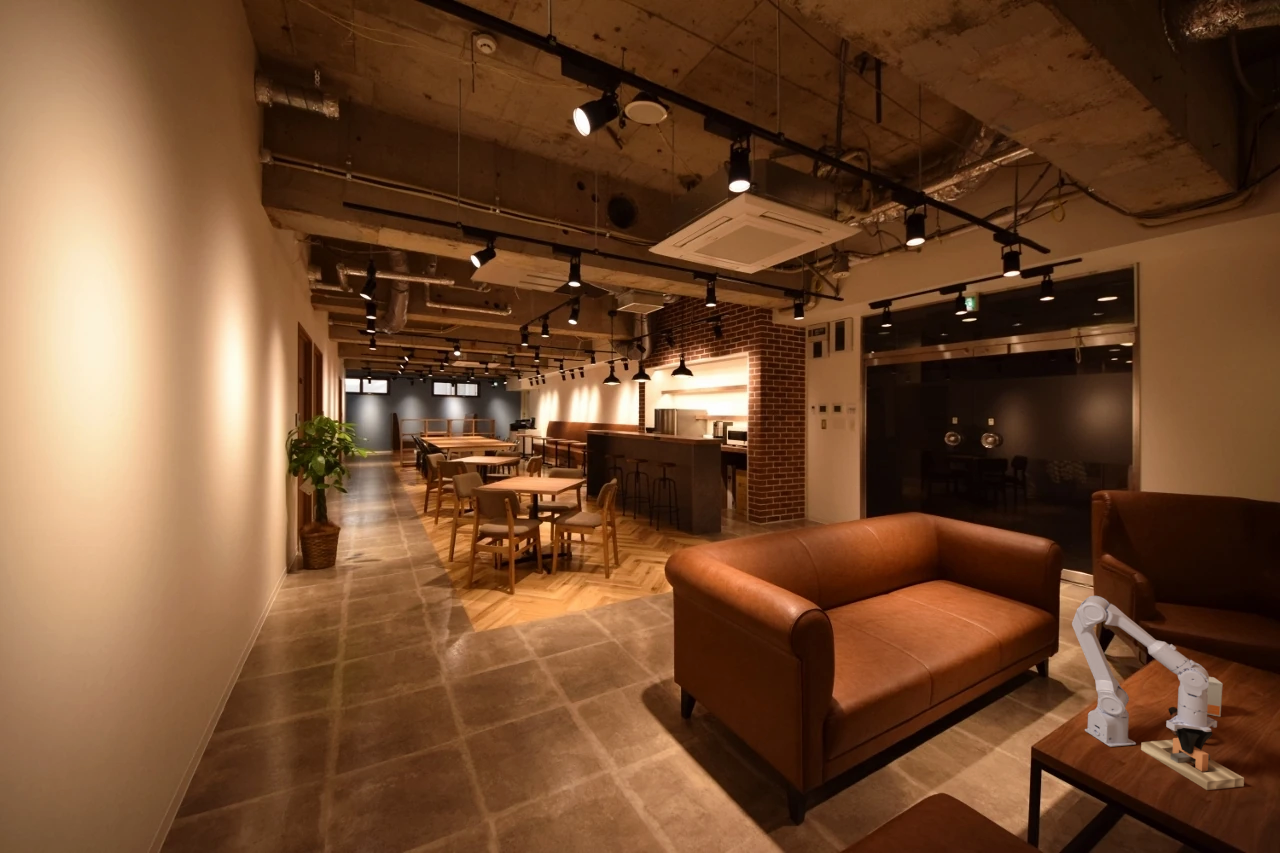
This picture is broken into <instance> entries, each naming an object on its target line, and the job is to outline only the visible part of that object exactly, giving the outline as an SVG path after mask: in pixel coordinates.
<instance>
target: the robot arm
mask: <svg viewBox="0 0 1280 853" xmlns="http://www.w3.org/2000/svg"><path fill="white" fill-rule="evenodd" d="M1104 621H1105V623H1104V625H1106V626H1113V627H1118V628H1120V629H1121V630H1123V631H1124V632H1125V633H1127V634H1128V635H1130V637H1132V638H1134V640H1136V641H1138V642H1139V643H1141V644H1142V645H1143V646H1144V647H1146V648H1147V653H1148V654H1149V655H1150V656H1151V657H1152V658H1154V659H1155V660H1156V661H1157V662H1158V663H1160V664H1161V665H1162V666H1164V667H1165V668H1167V669H1168V670H1169V671H1170V672H1172V673H1173V674H1175V675H1176V676H1177V678H1178V681H1179V686H1178V691H1177V696H1178V697H1177V709H1178V714H1177V715H1176V716H1175V717H1174V718H1172V719H1171V718H1170V719H1168V720H1166V724H1165V725H1166V728H1168V729H1170V730H1173V731H1175V732H1176V734H1177V735H1176V736H1177V738H1178V739H1179V741H1180V745H1181V748H1182V750H1184V751H1185V752H1187V753H1189V754H1192V753H1193V750H1194V746H1195V747H1197V748H1199V749H1200V750H1202V749H1203V747H1204V745H1205V744H1206V742H1207V741H1208V740H1209V739H1208V738H1209V737H1210V738H1211V737H1212V736H1213V732H1212V728H1217V727H1218V721H1217V720H1216V719H1214V718H1211V717H1209V716H1208V714H1207V706H1208V695H1207V692H1208V689H1207V688H1208V686H1209V683H1208V681H1209V677H1210V676H1209V672H1208V670H1206V669H1205V668H1204V667H1203V666H1202V665H1201V664H1199V663H1197V662H1196V661H1194V660H1192V659H1189V658H1188V657H1186V656H1185V655H1183V654H1182V653H1181V652H1179V651H1178V650H1177V646H1175V645H1173V644H1172V643H1171V644H1169V643H1168V642H1166V641H1162V640H1157V639H1155V638H1154V637H1153V636H1152V635H1151V634H1149V633H1148V632H1147V631H1146V630H1145V629H1144V628H1142V627H1141V626H1140V625H1138V624H1137V623H1136V622H1135V621H1133V620H1132V619H1131V618H1130V617H1128V616H1127V615H1126V614H1125V613H1124V612H1123V611H1122V610H1120V609H1119V608H1118V607H1117V606H1116V605H1115V604H1113V603H1110V602H1109V601H1108V600H1107V599H1106V598H1104V597H1102V596H1098V595H1090V596H1088V597H1086V598H1085V599H1084V600H1083V601H1082V602H1081V604H1080V605H1079V606H1078V607H1077V609H1076V611H1075V614H1074V617H1073V619H1072V622H1071V626H1072V628H1073V630H1074V634H1075V636H1076V639H1077V640H1078V643H1079V645H1080V648H1081V650H1082V653H1083V654H1084V657H1085V659H1086V661H1087V664H1088V667H1089V670H1090V671H1091V674H1092V676H1093V679H1094V680H1095V689H1096V693H1097V705H1096V708H1094V709H1093V710H1090V711H1089V712H1088V714H1087V728H1085V729H1084V731H1085V733H1088V734H1089V735H1091V736H1092V737H1094V738H1096V740H1099V741H1100V742H1102V743H1104V744H1105V745H1107V746H1108V747H1111V748H1112V747H1121V746H1123V747H1124V746H1133V745H1136V744H1137V743H1136V742H1135V741H1134V740H1132V739H1130V738H1129V715H1130V714H1129V712H1128V711H1127V709H1126V707H1127V704H1128V703H1129V701H1130V700H1129V695H1128V692H1126V690H1124V688H1122V686H1121V685H1120V683H1119V681H1118V679H1116V678H1115V676H1114V674H1113V671H1112V669H1111V667H1110V665H1109V661H1108V660H1107V657H1106V655H1105V653H1104V650H1103V649H1102V646H1101V644H1100V641H1099V639H1098V637H1097V635H1096V632H1095V630H1094V627H1095V626H1096V625H1097V624H1100V623H1102V622H1104ZM1211 727H1212V728H1211Z"/></svg>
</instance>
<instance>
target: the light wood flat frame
mask: <svg viewBox="0 0 1280 853" xmlns="http://www.w3.org/2000/svg"><path fill="white" fill-rule="evenodd" d="M1140 745H1141V747H1140V750H1141V751H1142V752H1144V753H1145V754H1147V755H1148V756H1150V757H1152V758H1153V759H1155V760H1157V761H1159V762H1160V763H1162V764H1164V765H1166V767H1169V768H1170V769H1172V770H1174V772H1176V773H1178V774H1180V775H1181V776H1183V777H1185V778H1186V779H1189V781H1191V782H1193V783H1195V784H1197V785H1198V786H1200V787H1202V788H1203V789H1204V790H1206V791H1210V790H1212V791H1213V790H1221V789H1230V788H1239V787H1245V785H1244V784H1245V778H1244V776H1241V775H1239V773H1236V772H1234V771H1232V770H1231V769H1229V768H1227V767H1225V766H1223V765H1222V764H1220V763H1218V762H1216V761H1215V760H1214V759H1213V760H1212V759H1211V754H1209V753H1208V771H1204V772H1203V771H1200V770H1199V769H1197V768H1195V767H1194V766H1192V765H1191V764H1189V763H1192V764H1194V765H1195V763H1196V759H1194V758H1193V757H1191V756H1189V755H1187V754H1186V753H1184V752H1183V753H1173V739H1165V740H1151V741H1143V742H1142V741H1141V744H1140Z"/></svg>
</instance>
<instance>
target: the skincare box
mask: <svg viewBox="0 0 1280 853" xmlns="http://www.w3.org/2000/svg"><path fill="white" fill-rule="evenodd" d="M1208 683H1209V686H1208V688H1207V689H1208V692H1207V695H1208V706H1207V716H1208V715H1209V716H1215V717H1219V718H1220V717H1221V716H1222V715H1221V713H1222V701H1223V700H1222V699H1223V698H1222V697H1223V685H1224V684H1223V682H1222V681H1220V680H1218V679H1217V678H1216V677H1213V676H1209V681H1208Z"/></svg>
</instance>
